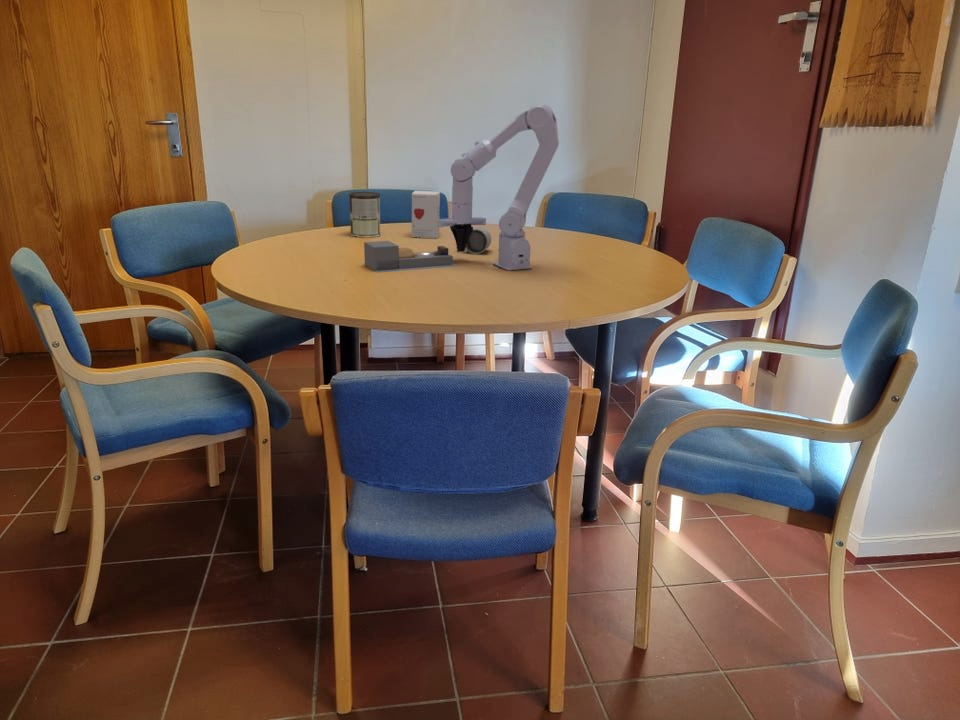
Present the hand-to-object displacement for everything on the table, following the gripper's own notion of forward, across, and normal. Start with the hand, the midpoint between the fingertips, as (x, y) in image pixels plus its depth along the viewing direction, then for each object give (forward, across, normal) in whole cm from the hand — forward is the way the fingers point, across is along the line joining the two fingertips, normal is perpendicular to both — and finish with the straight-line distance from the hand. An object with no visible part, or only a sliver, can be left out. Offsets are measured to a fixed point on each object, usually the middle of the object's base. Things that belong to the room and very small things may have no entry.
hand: (461, 251), depth 200 cm
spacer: (+3, +18, 0) cm, 18 cm away
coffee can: (+4, +12, -52) cm, 53 cm away
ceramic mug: (+4, -11, -13) cm, 18 cm away
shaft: (+3, +10, 0) cm, 10 cm away
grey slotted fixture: (+3, +14, 0) cm, 15 cm away
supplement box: (+4, -8, -44) cm, 45 cm away
